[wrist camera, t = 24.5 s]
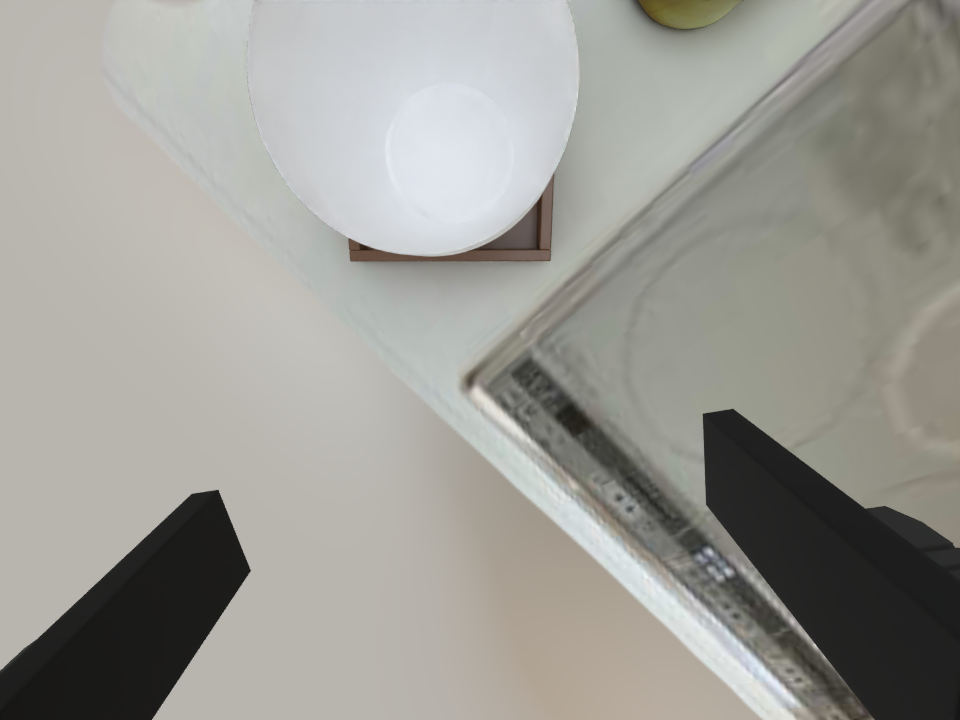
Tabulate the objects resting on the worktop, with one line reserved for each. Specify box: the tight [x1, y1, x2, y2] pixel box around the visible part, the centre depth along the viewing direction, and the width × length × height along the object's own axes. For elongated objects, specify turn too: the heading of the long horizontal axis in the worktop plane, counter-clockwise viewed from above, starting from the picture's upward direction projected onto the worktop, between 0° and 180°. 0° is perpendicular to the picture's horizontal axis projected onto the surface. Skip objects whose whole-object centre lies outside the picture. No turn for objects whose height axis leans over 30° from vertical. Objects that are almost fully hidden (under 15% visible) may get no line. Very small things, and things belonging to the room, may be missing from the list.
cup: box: [247, 0, 579, 256], centre depth 25 cm, size 13×13×17 cm
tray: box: [348, 173, 554, 261], centre depth 32 cm, size 15×15×3 cm
